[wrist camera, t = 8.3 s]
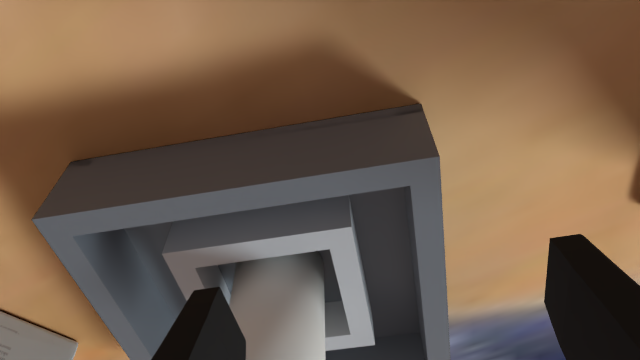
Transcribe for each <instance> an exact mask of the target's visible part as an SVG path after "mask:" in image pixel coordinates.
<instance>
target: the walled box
mask: <svg viewBox="0 0 640 360" xmlns="http://www.w3.org/2000/svg"><path fill="white" fill-rule="evenodd" d="M32 221H33V222H34V224H35V225H36V227H37V228H38V229H39V231H40V232H41V234H42V235H43V237H44V238H45V239H46V241H47V242H48V244H49V245H50V246H51V248H52V249H53V251H54V252H55V254H56V255H57V256H58V258H59V259H60V261H61V262H62V263H63V265H64V266H65V268H66V269H67V271H68V272H69V273H70V275H71V276H72V278H73V279H74V280H75V282H76V283H77V285H78V286H79V288H80V289H81V290H82V292H83V293H84V295H85V296H86V297H87V299H88V300H89V302H90V303H91V305H92V306H93V307H94V309H95V310H96V312H97V313H98V315H99V316H100V317H101V319H102V320H103V322H104V323H105V324H106V326H107V327H108V329H109V330H110V332H111V333H112V334H113V336H114V337H115V339H116V340H117V341H118V343H119V344H120V346H121V347H122V349H123V350H124V351H125V353H126V354H127V356H128V357H129V358H130V360H151V359H152V357H153V356H154V354H155V353H156V351H157V350H158V348H159V346H160V345H161V343H162V342H163V340H164V338H165V337H166V335H167V333H168V332H169V330H170V328H171V327H172V325H173V324H174V322H175V320H176V319H177V317H178V315H179V314H180V312H181V310H182V309H183V307H184V305H185V304H186V302H187V300H188V299H189V297H190V296H191V294H192V293H193V291H194V290H200V289H206V288H213V287H220V288H221V290H222V292H223V294H224V296H225V298H226V300H227V303H228V305H229V303H230V297H231V292H232V286H233V280H234V274H235V268H236V263H237V262H241V261H249V260H256V259H263V258H270V257H277V256H285V255H292V254H299V253H306V252H313V251H318V253H319V254H320V255H321V257H322V260H323V263H324V300H325V357H326V360H450V342H449V323H448V305H447V286H446V268H445V249H444V230H443V212H442V193H441V175H440V156H439V154H438V151H437V148H436V145H435V142H434V139H433V136H432V134H431V131H430V128H429V125H428V122H427V119H426V116H425V114H424V111H423V108H422V105H421V104H416V105H410V106H404V107H398V108H392V109H386V110H380V111H374V112H368V113H362V114H356V115H350V116H344V117H338V118H332V119H326V120H320V121H314V122H308V123H302V124H296V125H290V126H283V127H277V128H271V129H265V130H259V131H253V132H247V133H241V134H235V135H229V136H223V137H217V138H211V139H205V140H199V141H193V142H187V143H181V144H175V145H169V146H163V147H157V148H151V149H145V150H139V151H133V152H127V153H121V154H115V155H109V156H103V157H97V158H91V159H85V160H79V161H73V162H71V163H70V164H69V165H68V167H67V168H66V170H65V171H64V173H63V174H62V176H61V177H60V179H59V180H58V182H57V183H56V185H55V186H54V187H53V189H52V190H51V192H50V193H49V195H48V196H47V198H46V199H45V201H44V202H43V204H42V205H41V207H40V208H39V209H38V211H37V212H36V214H35V215H34V217H33V218H32Z"/></svg>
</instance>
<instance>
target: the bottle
mask: <svg viewBox="0 0 640 360" xmlns="http://www.w3.org/2000/svg"><path fill="white" fill-rule="evenodd" d="M229 307H230V309H231V311H232V313H233V315H234V317H235V319H236V321H237V323H238V325H239V327H240V329H241V331H242V333H243V335H244V337H245V340H246V360H326V357H325V300H324V263H323V260H322V257H321V255H320V254H319V253H318V251H313V252H306V253H299V254H292V255H285V256H277V257H270V258H263V259H256V260H249V261H241V262H237V263H236V268H235V274H234V280H233V286H232V292H231V297H230V303H229Z"/></svg>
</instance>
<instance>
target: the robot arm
mask: <svg viewBox="0 0 640 360" xmlns="http://www.w3.org/2000/svg"><path fill="white" fill-rule="evenodd" d="M544 302H545V305H546V308H547V311H548V314H549V317H550V320H551V323H552V326H553V328H554V331H555V334H556V337H557V339H558V342H559V345H560V347H561V349H562V352H563V354H564V356H565V358H566V360H640V286H639V285H638V284H637V283H636V282H635V281H634V280H633V279H631V278H630V277H629V276H628V275H627V274H626V273H625V272H623V271H622V270H621V269H620V268H619V267H618V266H617V265H615V264H614V263H613V262H612V261H611V260H610V259H609V258H608V257H607V256H605V255H604V254H603V253H602V252H601V251H600V250H599V249H598V248H597V247H595V246H594V245H593V244H592V243H591V242H590V241H589V240H588V239H587V238H586V237H584V236H583V235H581V234H576V235H570V236H563V237H556V238H550V243H549V255H548V266H547V277H546V288H545V299H544ZM151 360H246V340H245V337H244V335H243V333H242V331H241V329H240V327H239V325H238V323H237V321H236V319H235V317H234V315H233V313H232V311H231V309H230V307H229V305H228V303H227V300H226V298H225V296H224V294H223V292H222V290H221V288H220V287H213V288H206V289H200V290H194V291H193V293H192V294H191V296H190V297H189V299H188V300H187V302H186V304H185V305H184V307H183V309H182V310H181V312H180V314H179V315H178V317H177V319H176V320H175V322H174V324H173V325H172V327H171V328H170V330H169V332H168V333H167V335H166V337H165V338H164V340H163V342H162V343H161V345H160V346H159V348H158V350H157V351H156V353H155V354H154V356H153V357H152V359H151Z"/></svg>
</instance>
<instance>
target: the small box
mask: <svg viewBox="0 0 640 360" xmlns="http://www.w3.org/2000/svg"><path fill="white" fill-rule="evenodd" d="M77 347H78V342H76V341H74V340H71V339H68V338H66V337H63V336H61V335H58V334H56V333H53V332H51V331H48V330H46V329H43V328H41V327H38V326H36V325H33V324H31V323H28V322H26V321H23V320H21V319H18V318H16V317H13V316H11V315H8V314H6V313H3V312H1V311H0V360H73V358H74V355H75V352H76V350H77Z"/></svg>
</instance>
